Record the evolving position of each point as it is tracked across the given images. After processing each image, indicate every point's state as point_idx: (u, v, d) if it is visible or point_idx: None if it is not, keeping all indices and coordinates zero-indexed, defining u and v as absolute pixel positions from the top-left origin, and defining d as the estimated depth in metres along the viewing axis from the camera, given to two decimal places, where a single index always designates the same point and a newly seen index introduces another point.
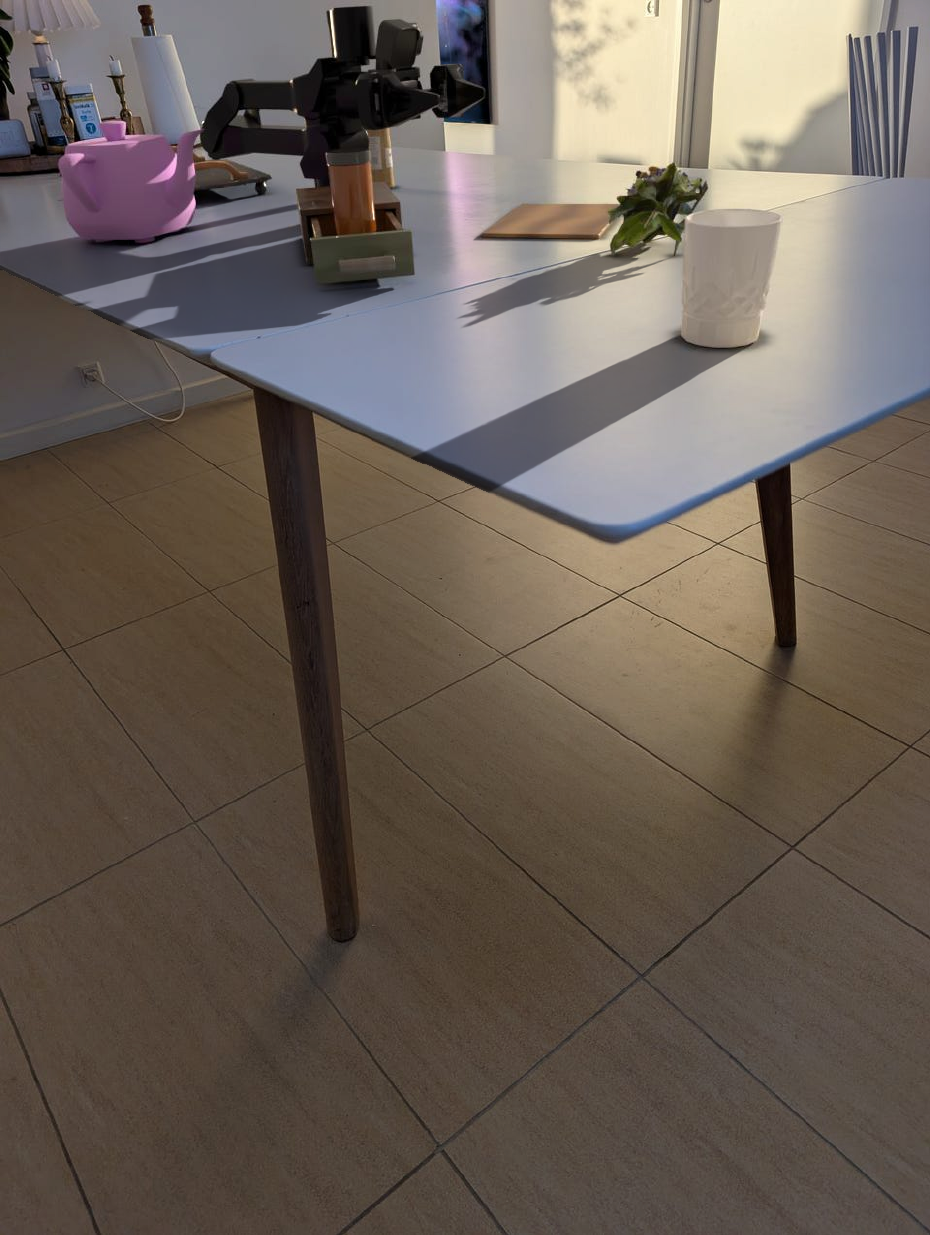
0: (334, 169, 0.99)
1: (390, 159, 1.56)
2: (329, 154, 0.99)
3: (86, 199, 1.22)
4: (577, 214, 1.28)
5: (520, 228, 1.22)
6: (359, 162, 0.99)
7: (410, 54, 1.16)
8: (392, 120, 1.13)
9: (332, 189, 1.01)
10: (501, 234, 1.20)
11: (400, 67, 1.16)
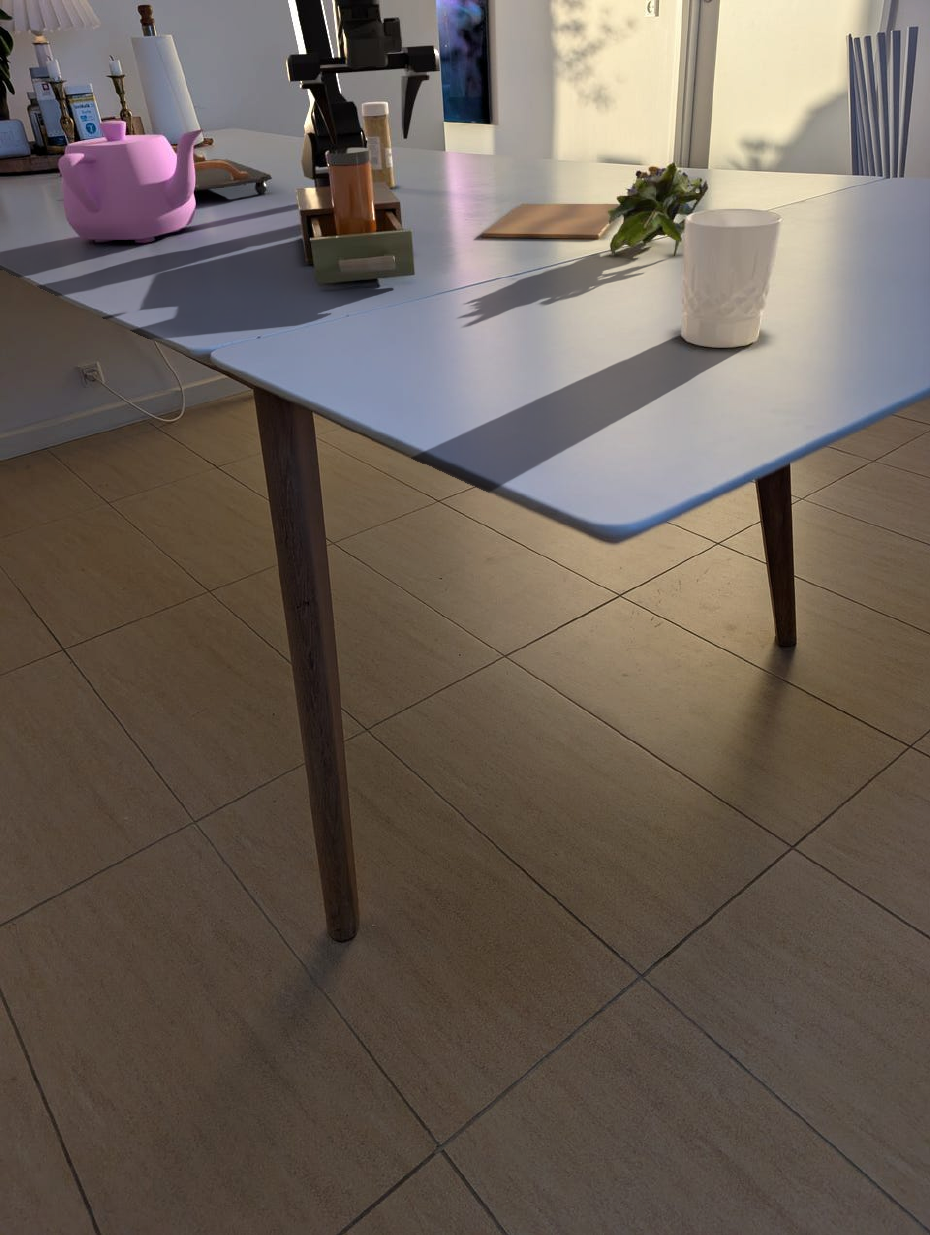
0: (334, 169, 0.99)
1: (390, 159, 1.56)
2: (329, 154, 0.99)
3: (86, 199, 1.22)
4: (577, 214, 1.28)
5: (520, 228, 1.22)
6: (359, 162, 0.99)
7: None
8: None
9: (332, 189, 1.01)
10: (501, 234, 1.20)
11: None
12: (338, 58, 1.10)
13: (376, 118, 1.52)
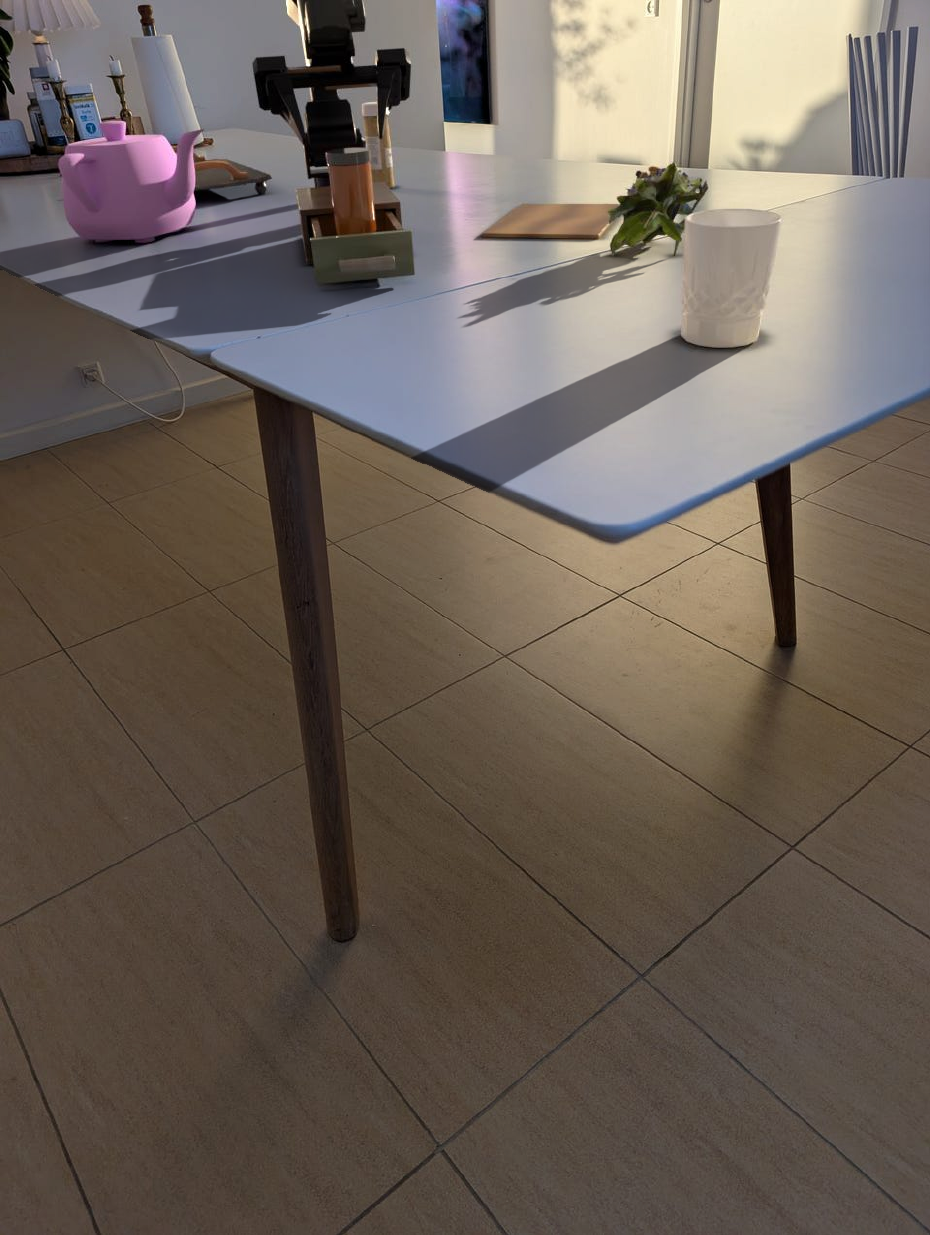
0: (334, 169, 0.99)
1: (390, 159, 1.56)
2: (329, 154, 0.99)
3: (86, 199, 1.22)
4: (577, 214, 1.28)
5: (520, 228, 1.22)
6: (359, 162, 0.99)
7: (341, 38, 1.03)
8: (281, 112, 1.08)
9: (332, 189, 1.01)
10: (501, 234, 1.20)
11: (327, 45, 1.05)
12: None
13: (376, 118, 1.52)
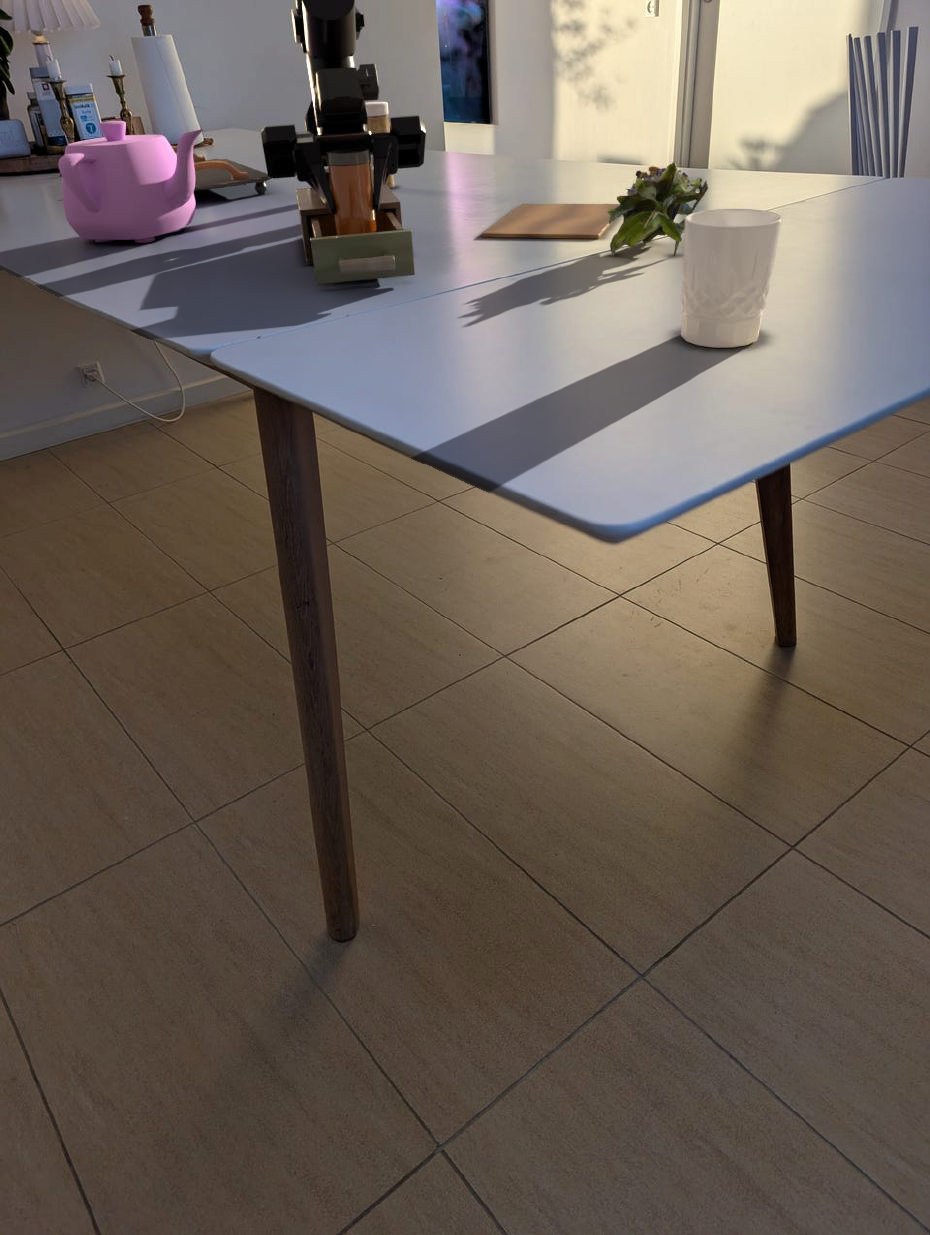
0: (334, 169, 0.99)
1: None
2: (329, 154, 0.99)
3: (86, 199, 1.22)
4: (577, 214, 1.28)
5: (520, 228, 1.22)
6: (359, 162, 0.99)
7: (353, 107, 0.99)
8: (309, 179, 1.05)
9: (332, 189, 1.01)
10: (501, 234, 1.20)
11: (338, 113, 1.01)
12: None
13: (376, 118, 1.52)
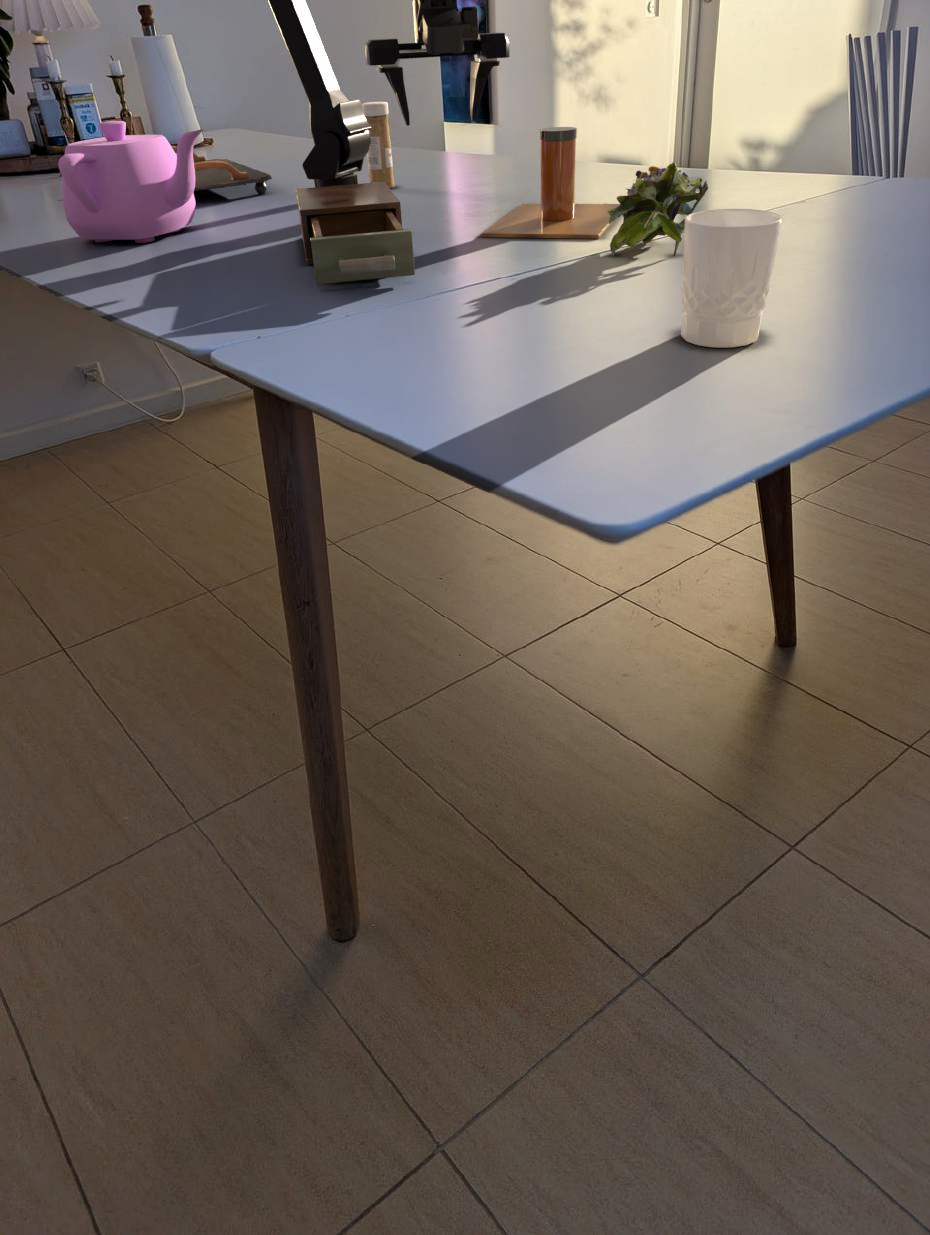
0: (567, 143, 1.19)
1: (390, 159, 1.56)
2: (563, 131, 1.18)
3: (86, 199, 1.22)
4: (577, 214, 1.28)
5: (520, 228, 1.22)
6: None
7: None
8: (386, 73, 1.20)
9: (559, 161, 1.20)
10: (501, 234, 1.20)
11: None
12: (415, 44, 1.17)
13: (376, 118, 1.52)
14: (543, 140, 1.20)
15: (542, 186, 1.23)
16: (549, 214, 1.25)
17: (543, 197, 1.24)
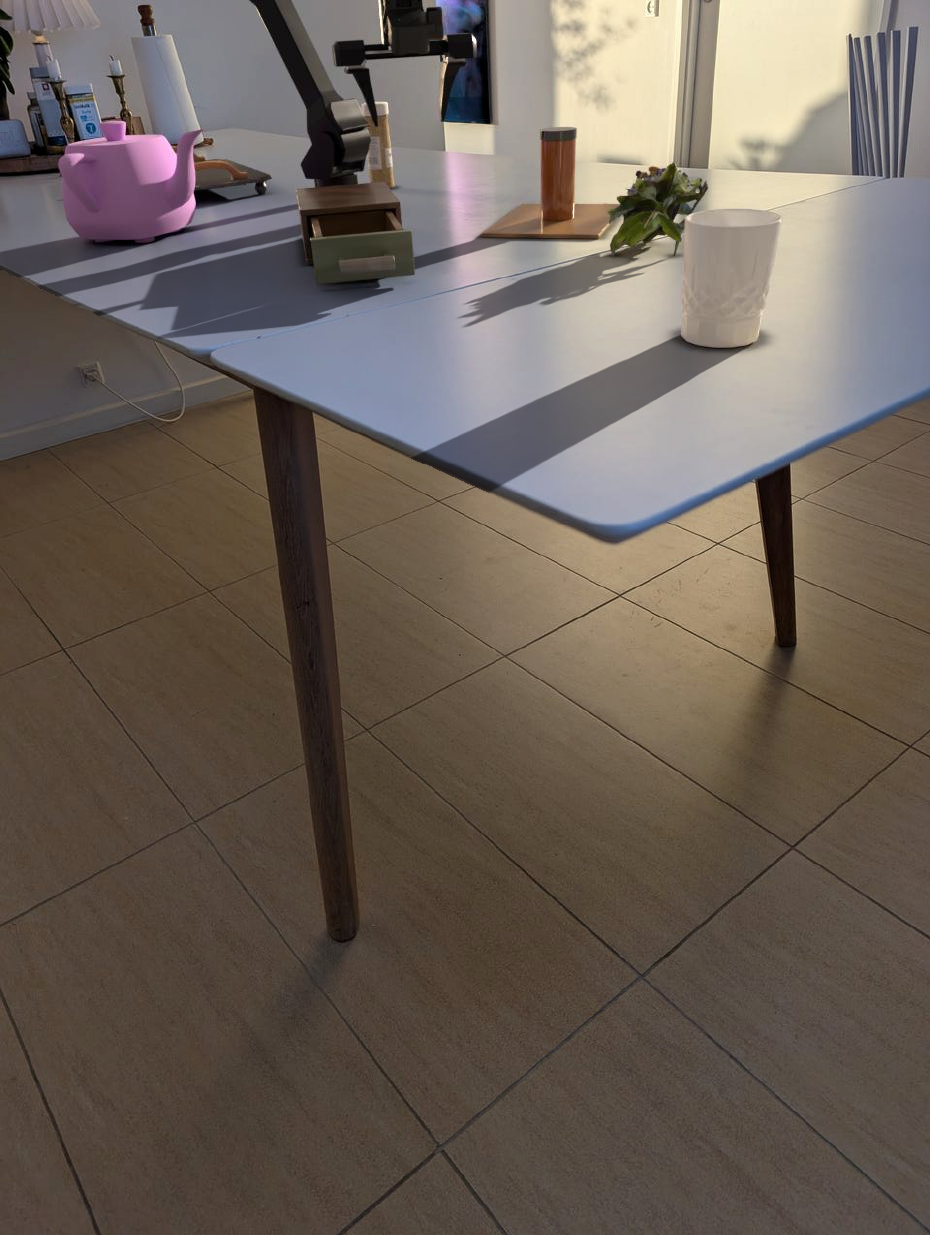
0: (567, 143, 1.19)
1: (390, 159, 1.56)
2: (563, 131, 1.18)
3: (86, 199, 1.22)
4: (577, 214, 1.28)
5: (520, 228, 1.22)
6: None
7: None
8: (354, 74, 1.20)
9: (559, 161, 1.20)
10: (501, 234, 1.20)
11: None
12: (381, 45, 1.16)
13: None
14: (543, 140, 1.20)
15: (542, 186, 1.23)
16: (549, 214, 1.25)
17: (543, 197, 1.24)
